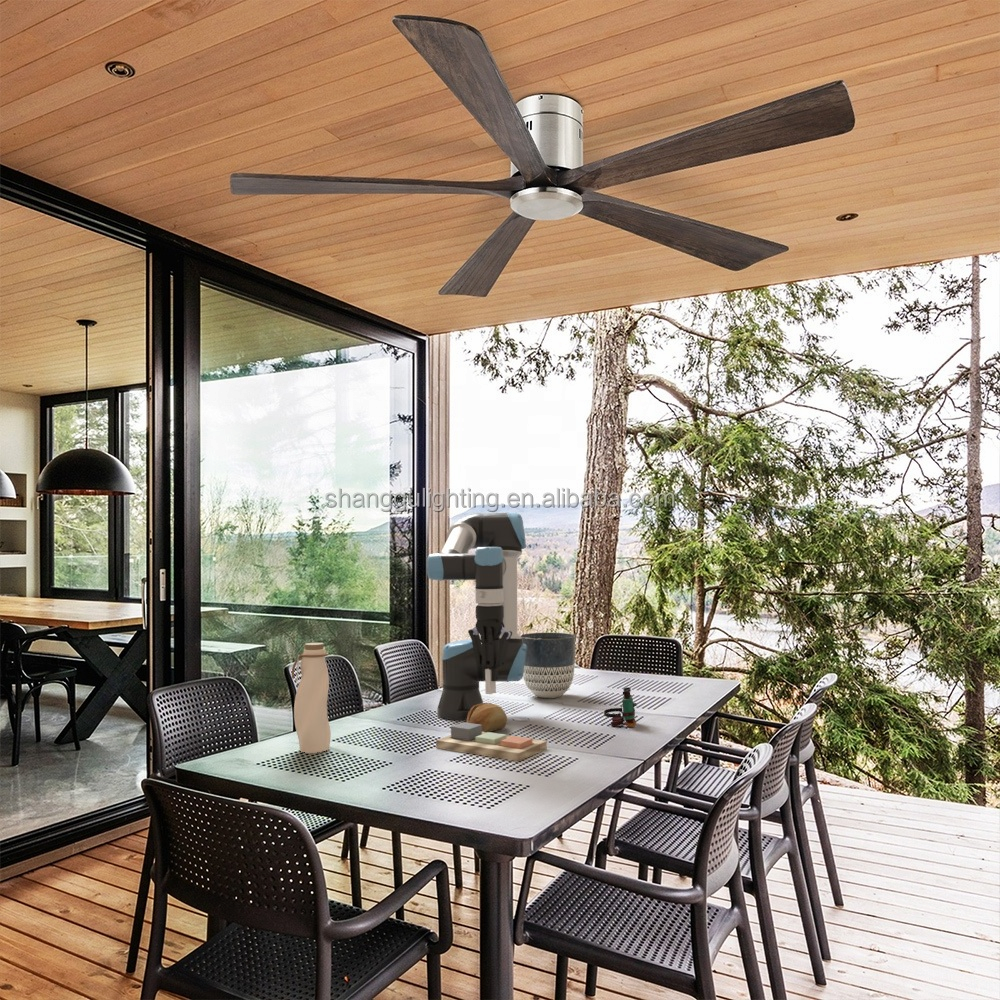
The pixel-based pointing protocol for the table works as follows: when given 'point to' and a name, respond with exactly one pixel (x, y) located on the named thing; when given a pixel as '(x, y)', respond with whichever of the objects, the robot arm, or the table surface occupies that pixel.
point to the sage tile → (490, 738)
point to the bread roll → (487, 716)
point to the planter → (549, 663)
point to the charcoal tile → (466, 731)
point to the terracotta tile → (516, 742)
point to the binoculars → (627, 711)
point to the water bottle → (312, 700)
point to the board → (491, 748)
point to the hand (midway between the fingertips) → (490, 693)
